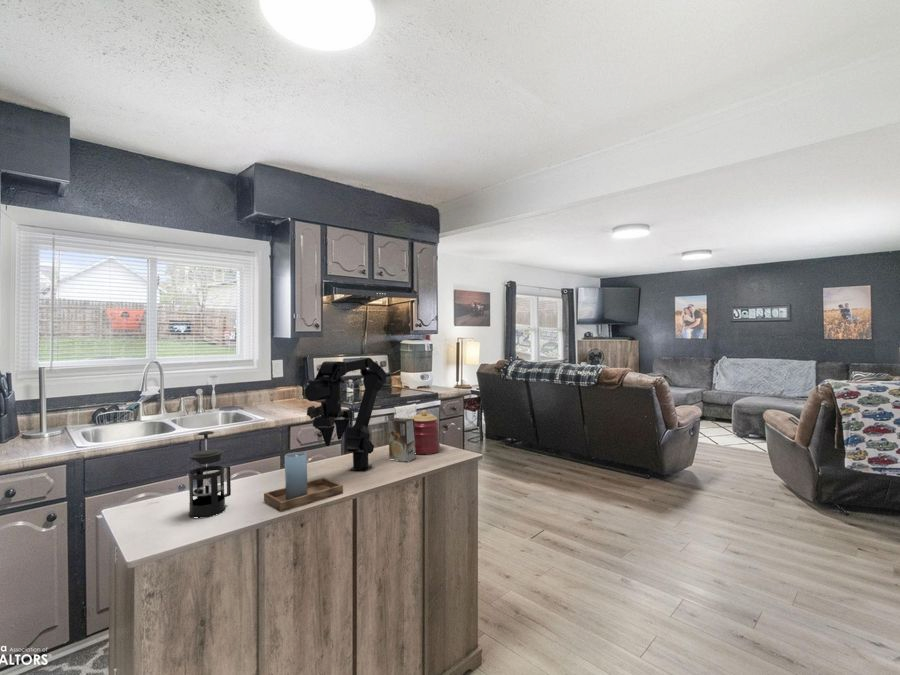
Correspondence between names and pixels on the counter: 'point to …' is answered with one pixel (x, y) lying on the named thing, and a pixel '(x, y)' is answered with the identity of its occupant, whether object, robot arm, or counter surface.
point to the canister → (426, 433)
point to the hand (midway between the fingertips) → (333, 442)
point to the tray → (315, 493)
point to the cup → (296, 475)
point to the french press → (207, 495)
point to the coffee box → (401, 439)
